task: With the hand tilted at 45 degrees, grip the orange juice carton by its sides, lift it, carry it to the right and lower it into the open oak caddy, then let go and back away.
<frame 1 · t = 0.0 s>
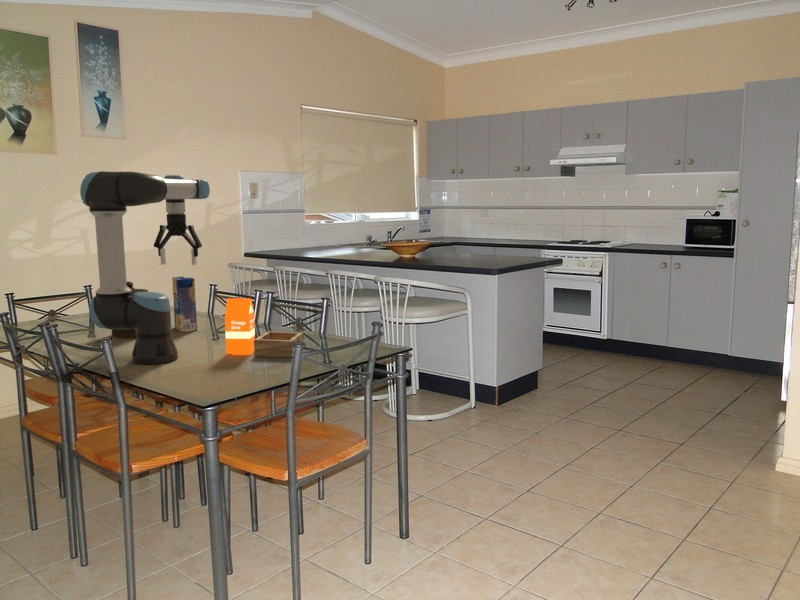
hand: (178, 264, 281), 28 cm above the table, tool pointing down, fingers open, 13 cm apart
wooden container: (131, 335, 277), on the table
beverage box: (185, 329, 288), on the table
orange juice: (241, 352, 246), on the table
caddy: (279, 352, 246), on the table
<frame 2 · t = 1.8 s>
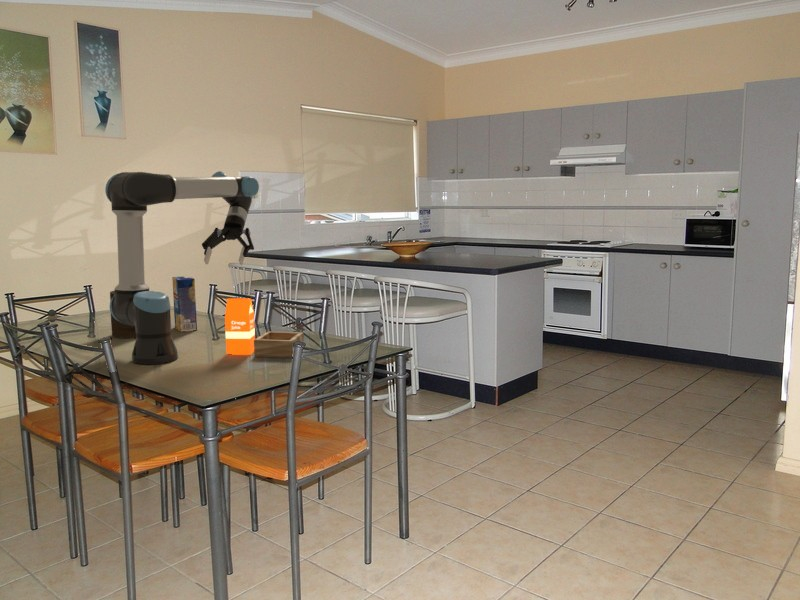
hand: (223, 262, 254), 32 cm above the table, tool tilted 45°, fingers open, 13 cm apart
nothing on the table moved.
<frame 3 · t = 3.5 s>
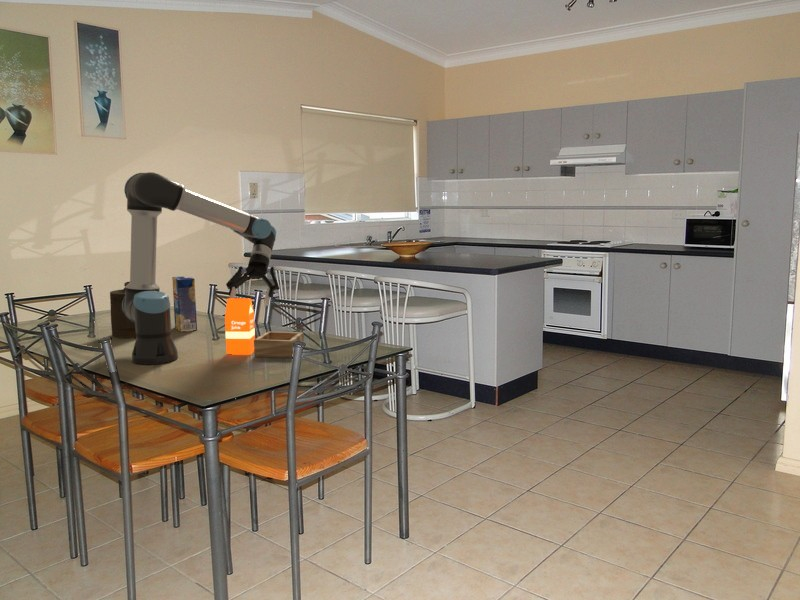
hand: (248, 303, 250), 17 cm above the table, tool tilted 45°, fingers open, 13 cm apart
nothing on the table moved.
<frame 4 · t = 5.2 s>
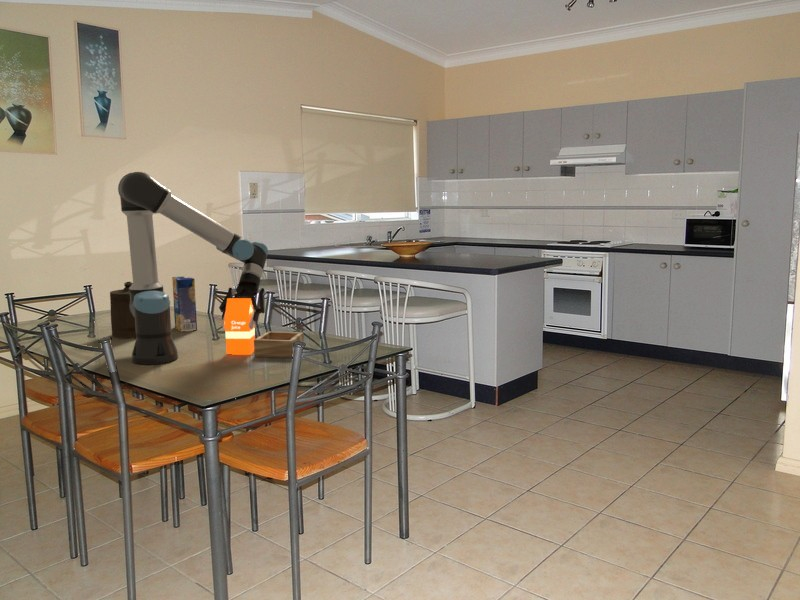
hand: (236, 327, 241), 10 cm above the table, tool tilted 45°, fingers closed on orange juice, 9 cm apart
orange juice: (241, 352, 246), on the table, touching gripper
everything else where it was.
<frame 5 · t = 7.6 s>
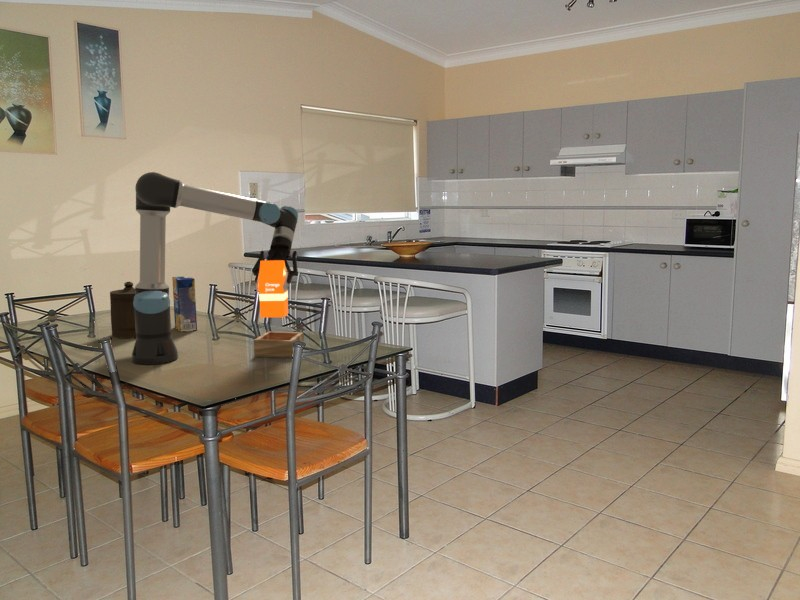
hand: (270, 289, 240), 23 cm above the table, tool tilted 45°, fingers closed on orange juice, 9 cm apart
orange juice: (274, 315, 244), point 13 cm above the table, touching gripper
everything else where it was.
when the fingers open (12 cm above the table, at t = 10.3 s): orange juice drops 1 cm, resting on caddy.
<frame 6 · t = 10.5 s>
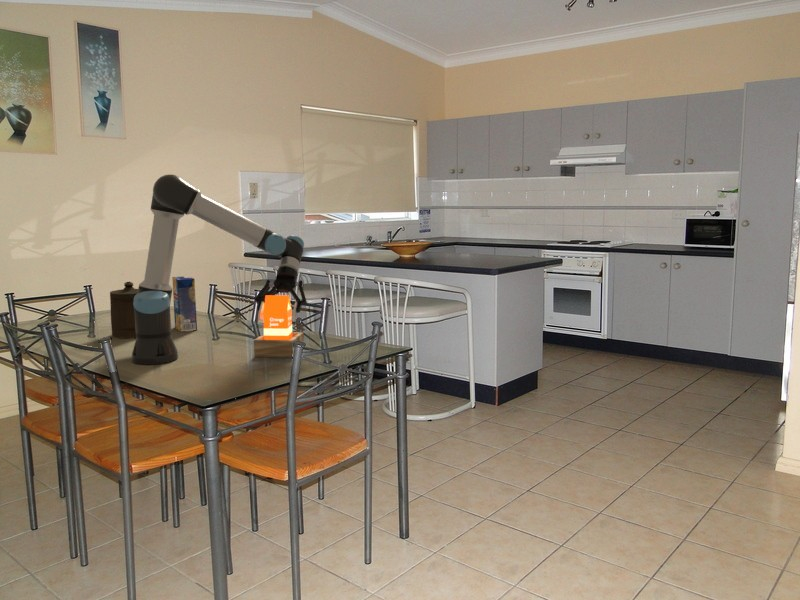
hand: (276, 318, 241), 13 cm above the table, tool tilted 45°, fingers open, 12 cm apart
orange juice: (278, 349, 246), point 1 cm above the table, touching caddy
everything else where it was.
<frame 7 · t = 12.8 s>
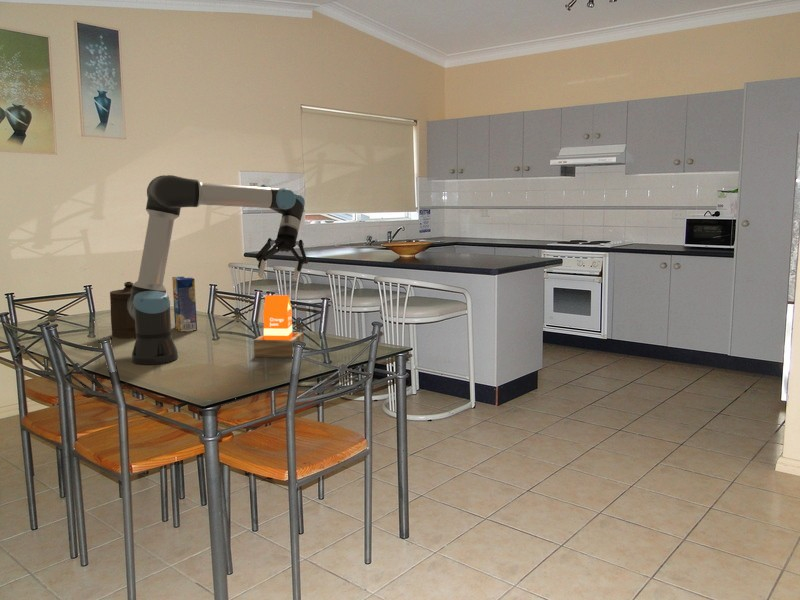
hand: (277, 277, 253), 26 cm above the table, tool tilted 35°, fingers open, 13 cm apart
nothing on the table moved.
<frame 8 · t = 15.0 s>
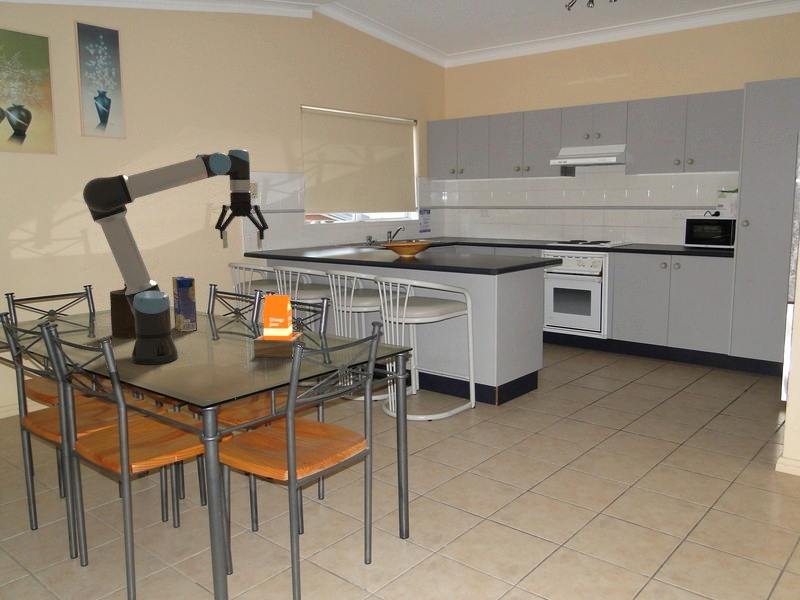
hand: (242, 248, 256), 37 cm above the table, tool pointing down, fingers open, 13 cm apart
nothing on the table moved.
at the end: orange juice inside the target area on the caddy (0.4 cm from its centre), point 0.8 cm above the caddy's base; orange juice tilted 0°; the gripper is holding nothing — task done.
